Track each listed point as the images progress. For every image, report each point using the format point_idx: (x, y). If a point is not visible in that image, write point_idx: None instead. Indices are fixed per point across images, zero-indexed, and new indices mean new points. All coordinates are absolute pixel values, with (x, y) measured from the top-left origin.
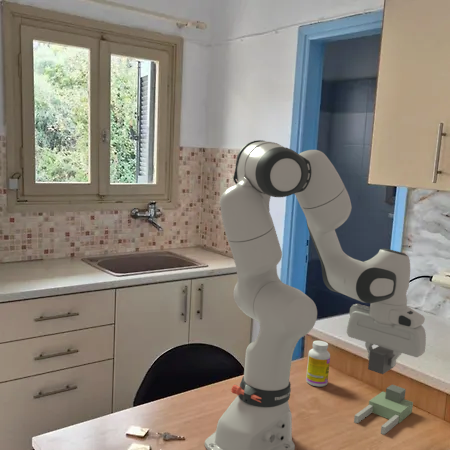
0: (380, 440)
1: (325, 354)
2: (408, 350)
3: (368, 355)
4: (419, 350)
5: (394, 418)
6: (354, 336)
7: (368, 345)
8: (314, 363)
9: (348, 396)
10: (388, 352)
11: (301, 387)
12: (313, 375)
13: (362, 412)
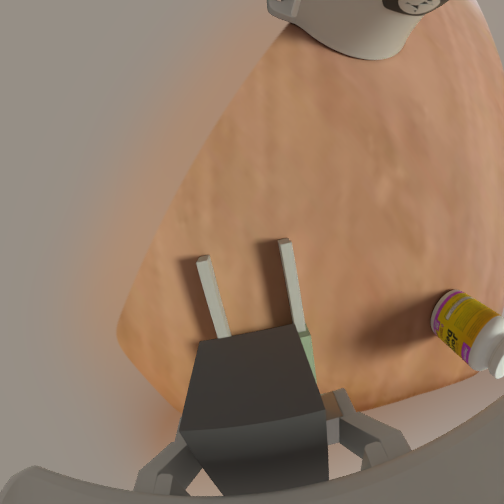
0: (186, 224)
1: (482, 351)
2: (53, 494)
3: (348, 400)
4: (4, 486)
5: (217, 326)
6: (498, 412)
7: (379, 447)
8: (482, 313)
9: (375, 332)
10: (218, 477)
11: (457, 262)
12: (462, 300)
13: (288, 276)
